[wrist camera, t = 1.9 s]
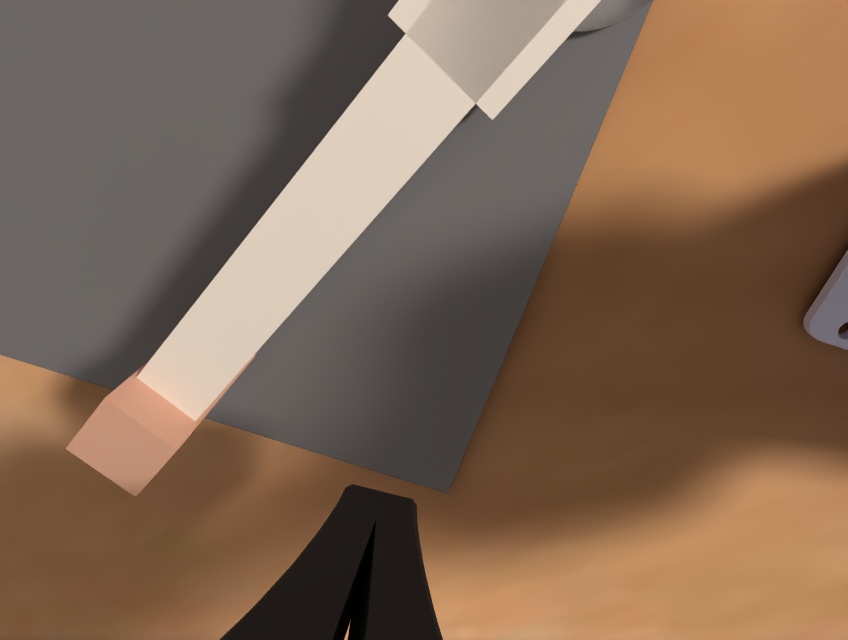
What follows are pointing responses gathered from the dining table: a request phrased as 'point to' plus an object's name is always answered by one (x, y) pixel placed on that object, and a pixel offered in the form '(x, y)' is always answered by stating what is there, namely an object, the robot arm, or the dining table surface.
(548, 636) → the dining table surface
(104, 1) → the mat
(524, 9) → the gate
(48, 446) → the dining table surface
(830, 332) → the robot arm
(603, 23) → the post
